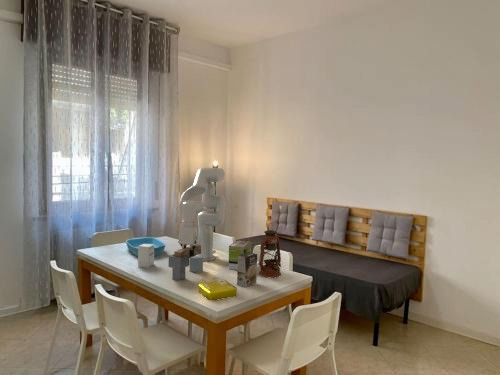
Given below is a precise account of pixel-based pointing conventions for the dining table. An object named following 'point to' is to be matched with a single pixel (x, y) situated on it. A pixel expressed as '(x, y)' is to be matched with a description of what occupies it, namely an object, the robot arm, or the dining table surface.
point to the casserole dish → (136, 242)
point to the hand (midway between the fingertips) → (188, 255)
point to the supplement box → (145, 255)
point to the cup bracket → (178, 266)
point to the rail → (187, 251)
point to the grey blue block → (196, 264)
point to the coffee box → (247, 269)
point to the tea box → (237, 252)
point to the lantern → (271, 264)
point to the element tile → (217, 290)
